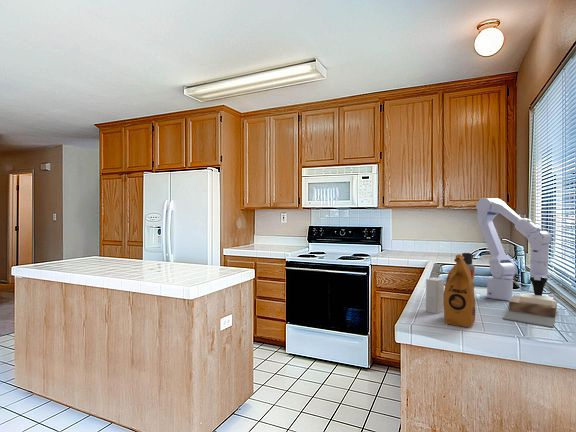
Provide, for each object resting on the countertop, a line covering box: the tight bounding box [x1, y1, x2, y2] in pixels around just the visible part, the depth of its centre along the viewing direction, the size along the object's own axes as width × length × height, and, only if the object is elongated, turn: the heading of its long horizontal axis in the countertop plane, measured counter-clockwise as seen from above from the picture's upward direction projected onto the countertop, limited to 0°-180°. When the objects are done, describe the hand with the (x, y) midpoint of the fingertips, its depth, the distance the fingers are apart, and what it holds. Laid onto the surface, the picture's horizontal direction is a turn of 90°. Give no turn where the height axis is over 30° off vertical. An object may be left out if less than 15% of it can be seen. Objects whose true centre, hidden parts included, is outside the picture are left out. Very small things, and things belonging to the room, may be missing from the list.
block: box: [518, 292, 554, 306], centre depth 136 cm, size 10×7×2 cm
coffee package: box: [443, 254, 476, 328], centre depth 121 cm, size 10×12×22 cm
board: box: [508, 295, 558, 318], centre depth 137 cm, size 14×13×4 cm
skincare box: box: [425, 277, 445, 315], centre depth 133 cm, size 6×4×12 cm
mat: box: [502, 309, 556, 329], centre depth 126 cm, size 14×14×1 cm
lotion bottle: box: [461, 252, 476, 288], centre depth 151 cm, size 6×6×20 cm
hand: (538, 296), depth 143 cm, fingers closed
